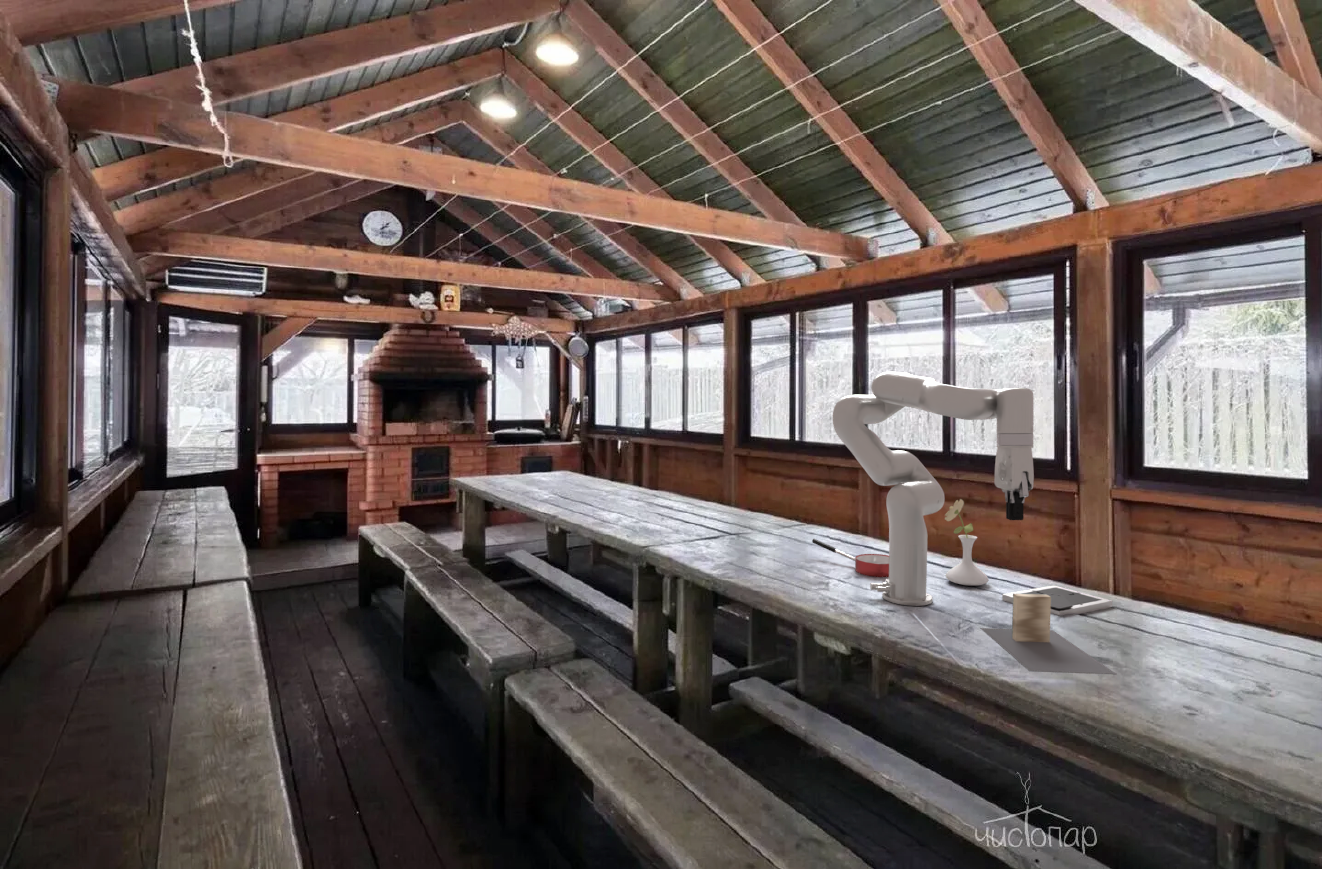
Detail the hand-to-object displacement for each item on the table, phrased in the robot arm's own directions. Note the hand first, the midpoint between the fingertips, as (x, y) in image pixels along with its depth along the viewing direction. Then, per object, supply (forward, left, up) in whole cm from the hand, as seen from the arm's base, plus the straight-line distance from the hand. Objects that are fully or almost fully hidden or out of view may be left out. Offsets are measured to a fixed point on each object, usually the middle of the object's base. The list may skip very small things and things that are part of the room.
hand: (1014, 519), depth 151 cm
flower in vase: (+3, +37, -26) cm, 45 cm away
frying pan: (-27, +54, -26) cm, 66 cm away
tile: (0, -10, -25) cm, 27 cm away
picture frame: (+20, +20, -26) cm, 38 cm away
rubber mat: (0, -15, -26) cm, 30 cm away
